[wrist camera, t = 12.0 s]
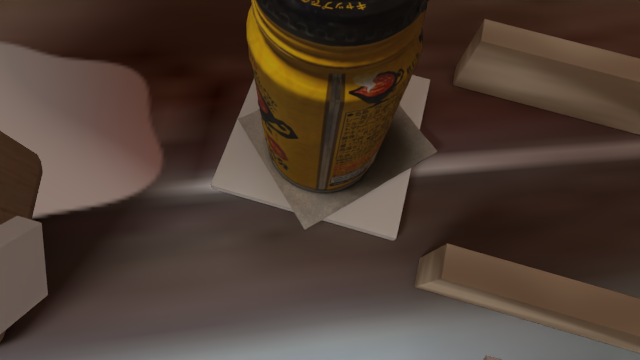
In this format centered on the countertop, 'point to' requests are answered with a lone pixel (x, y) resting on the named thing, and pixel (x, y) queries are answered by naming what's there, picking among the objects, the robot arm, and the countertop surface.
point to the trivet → (363, 214)
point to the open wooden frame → (564, 98)
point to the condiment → (333, 97)
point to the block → (17, 181)
